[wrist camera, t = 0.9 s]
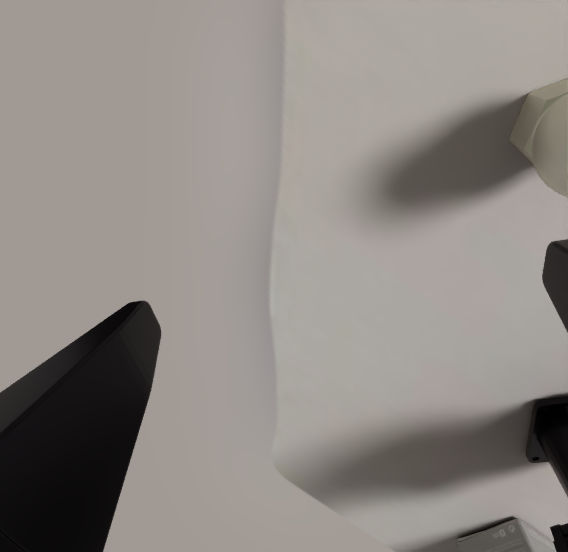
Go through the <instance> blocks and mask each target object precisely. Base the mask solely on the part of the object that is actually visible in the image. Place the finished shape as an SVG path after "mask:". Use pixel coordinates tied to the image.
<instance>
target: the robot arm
mask: <svg viewBox="0 0 568 552" xmlns="http://www.w3.org/2000/svg"><path fill="white" fill-rule="evenodd" d="M542 279H543V284H544V286H545V289H546V291H547V293H548V295H549V297H550V299H551V301H552V302H553V304H554V306H555V308H556V310H557V312H558V314H559V316H560V318H561V320H562V322H563V324H564V326H565V328H566V330H567V332H568V239H566V240H560V241H553V242H551V243H550V244H549V245H548V247H547V250H546V256H545V262H544V268H543V275H542ZM160 339H161V329H160V325H159V323H158V321H157V319H156V317H155V315H154V313H153V311H152V308H151V306H150V305H149V303H148V302H146V301H137V302H130V303H128V304H127V305H125V306H124V307H122V308H121V309H120V310H118V311H116V312H115V313H114V314H112V315H111V316H109V317H108V318H106V319H105V320H104V321H102V322H101V323H99V324H98V325H96V326H95V327H94V328H92V329H91V330H89V331H88V332H87V333H85V334H84V335H82V336H81V337H79V338H78V339H77V340H75V341H74V342H72V343H71V344H69V345H68V346H67V347H65V348H64V349H62V350H61V351H59V352H58V353H56V354H55V355H53V356H52V357H51V358H50V359H48V360H46V361H45V362H44V363H42V364H41V365H39V366H38V367H36V368H35V369H34V370H32V371H31V372H29V373H28V374H26V375H25V376H24V377H22V378H21V379H19V380H18V381H16V382H15V383H13V384H12V385H11V386H9V387H8V388H6V389H5V390H3V391H2V392H1V393H0V552H103V550H104V546H105V543H106V540H107V537H108V533H109V529H110V527H111V523H112V520H113V516H114V513H115V510H116V506H117V503H118V500H119V496H120V493H121V490H122V486H123V483H124V480H125V476H126V472H127V470H128V466H129V463H130V459H131V456H132V453H133V449H134V446H135V443H136V440H137V436H138V433H139V429H140V426H141V423H142V419H143V416H144V413H145V409H146V406H147V403H148V399H149V396H150V392H151V388H152V383H153V378H154V372H155V367H156V361H157V355H158V350H159V345H160ZM526 456H527V458H528V460H529V461H530V462H532V463H538V462H549V463H550V465H551V467H552V468H553V470H554V472H555V474H556V476H557V478H558V480H559V482H560V483H561V485H562V487H563V489H564V491H565V493H566V495H567V497H568V398H560V399H550V400H542V401H538V402H536V403H535V404H534V408H533V414H532V420H531V426H530V432H529V439H528V445H527V451H526ZM550 529H551V532H552V535H553V537H554V542H553V543H554V546H555V549H556V552H568V523H567V524H564V525H559V524H558V525H555V526H552V527H550Z"/></svg>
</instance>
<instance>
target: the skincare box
mask: <svg viewBox="0 0 568 552" xmlns="http://www.w3.org/2000/svg"><path fill="white" fill-rule="evenodd" d="M457 542H458V548H459V550H460V552H556V549H555V546H554V543H553V542H552V541H550V540H549V539H547V538H546V537H544V536H543V535H541V534H540V533H538V532H537V531H535V530H534V529H532V528H531V527H530V526H528V525H527V524H525V523H524V522H522V521H521V520H519V519H514V520H511V521H508V522H505V523H503V524H500V525H498V526H495V527H493V528H490V529H488V530H485V531H482V532H479V533H476V534H472V535H469V536H466V537H462V538H459V539H458V540H457Z"/></svg>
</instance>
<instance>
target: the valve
mask: <svg viewBox="0 0 568 552" xmlns="http://www.w3.org/2000/svg"><path fill="white" fill-rule="evenodd" d="M509 140H510V141H511V142H512V143H513V144H514V145H515V146H516V147H517V148H518V149H519V150H520V151H521V152H522V153H523V154H524V155H525V156H526V157H527V158H528V159H529V160H530V161H531V162H532V163H533V164H534V167H535V169H536V171H537V173H538V175H539V177H540V178H541V179H542V180H543V182H544V183H545V184H546V185H547V186H548V187H550V188H551V189H552V190H554V191H555V192H557V193H558V194H561V195H563V196H565V197H568V78H567V79H564V80H561V81H559V82H556V83H554V84H551V85H548V86H546V87H543V88H541V89H538V90H535V91H533V92H530V93H529V94H528V95H527V97H526V100H525V102H524V104H523V107H522V109H521V111H520V114H519V116H518V118H517V121H516V123H515V125H514V128H513V130H512V132H511V135H510V137H509Z"/></svg>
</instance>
